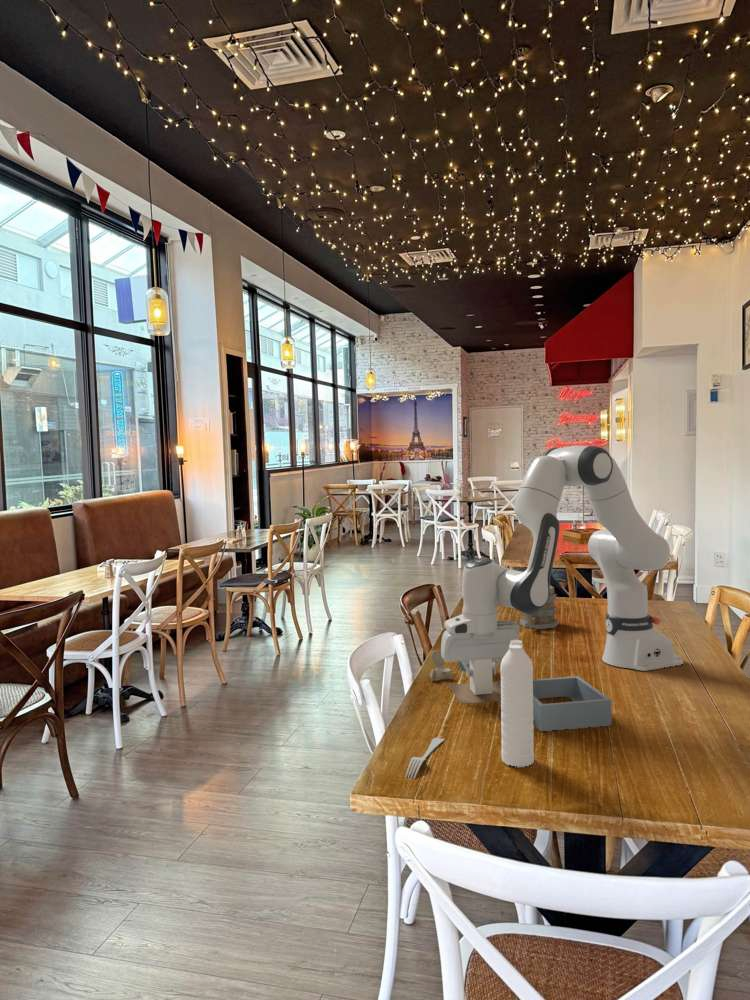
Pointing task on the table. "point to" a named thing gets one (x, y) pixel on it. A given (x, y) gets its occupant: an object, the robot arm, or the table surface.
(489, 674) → the ivory rectangular pillar
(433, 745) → the fork
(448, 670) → the bone
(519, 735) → the water bottle
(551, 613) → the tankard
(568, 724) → the slate bin
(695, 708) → the table surface
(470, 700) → the walnut base
